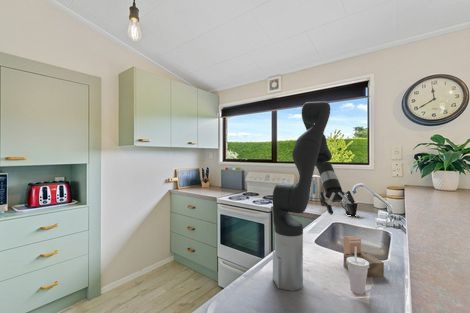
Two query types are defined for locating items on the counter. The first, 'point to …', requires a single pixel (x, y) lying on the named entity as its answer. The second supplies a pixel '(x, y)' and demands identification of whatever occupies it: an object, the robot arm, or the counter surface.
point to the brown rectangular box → (374, 264)
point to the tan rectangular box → (351, 244)
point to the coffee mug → (352, 207)
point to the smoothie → (357, 273)
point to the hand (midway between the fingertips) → (341, 213)
